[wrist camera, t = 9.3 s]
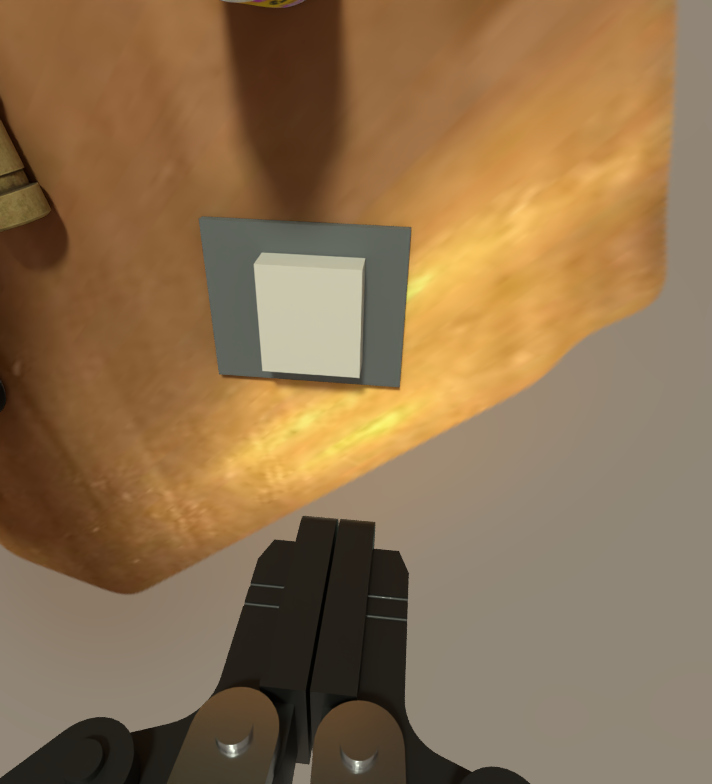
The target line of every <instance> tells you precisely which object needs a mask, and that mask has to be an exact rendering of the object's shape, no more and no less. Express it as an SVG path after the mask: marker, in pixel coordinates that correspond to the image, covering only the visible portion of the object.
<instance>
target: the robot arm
mask: <svg viewBox="0 0 712 784" xmlns="http://www.w3.org/2000/svg"><path fill="white" fill-rule="evenodd" d="M374 538H375V522H368V521H357V520H346V519H340V523H338V519H333V518H322V517H311V516H303V517H302V519H301V523H300V526H299V530H298V534H297V538H296V542H294V541H284V540H274V541H273V542H272V543H271V545H270V546H269V547H268V548H267V549H266V550H265V551H264V553H263V554H262V555H261V556H260V557H259V558H258V561H257V564H256V567H255V570H254V574H253V577H252V580H251V586H250V587H249V589H248V593H247V596H246V599H245V605H244V606H243V609H242V612H241V615H240V618H239V621H238V624H237V628H236V631H235V634H234V637H233V640H232V644H231V647H230V650H229V653H228V656H227V659H226V663H225V666H224V669H223V672H222V675H221V678H220V681H219V684H218V686H217V687H216V689H215V691H214V693H213V694H212V695H211V697H210V698H209V699H208V701H206V702H205V703H204V704H203V705H202V707H200V708H199V709H198V710H197V711H195V712H194V713H192V714H191V715H189V716H188V717H186V718H184V719H181V720H179V721H177V722H173V723H170V724H166V725H162V726H157V727H153V728H148V729H144V730H140V731H135V732H131V733H130V732H129V730H128V729H127V728H126V727H125V726H124V725H123V724H122V723H120V722H119V721H117V720H114V719H112V718H106V717H96V718H90V719H87V720H84V721H81V722H78V723H76V724H74V725H72V726H71V727H69V728H68V729H66V730H65V731H63V732H62V733H61V734H59V735H58V736H56V737H55V738H54V739H52V740H51V741H50V742H49V743H47V744H46V745H44V746H43V747H42V748H40V749H39V750H38V751H36V752H35V753H33V754H32V755H31V756H29V757H28V758H27V759H26V760H24V761H23V762H21V763H20V764H19V765H17V766H16V767H15V768H13V769H12V770H11V771H9V772H8V773H6V774H5V775H4V776H2V777H1V778H0V784H292V780H293V775H294V769H295V763H302V764H309V763H310V757H311V750H313V758H312V770H311V781H310V782H311V783H310V784H530V783H529V782H528V781H526V780H525V779H524V778H523V777H521V776H519V775H518V774H516V773H515V772H512V771H510V770H508V769H504V768H500V767H485V768H480V769H478V770H475V771H473V772H471V771H469V770H467V769H465V768H463V767H461V766H459V765H457V764H455V763H453V762H451V761H449V760H447V759H445V758H444V757H441V756H440V755H438V754H436V753H435V752H433V751H432V750H431V749H429V748H428V747H427V746H426V745H425V744H424V743H423V742H422V741H421V740H420V739H419V738H418V736H417V735H416V734H415V732H414V731H413V729H412V727H411V725H410V723H409V720H408V717H407V714H406V709H405V669H406V639H407V608H408V578H409V577H408V576H409V573H408V571H407V568H406V566H405V564H404V562H403V559H402V557H401V555H400V553H399V551H391V550H381V549H374V540H375V539H374Z"/></svg>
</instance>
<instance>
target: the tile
mask: <svg viewBox="0 0 712 784" xmlns="http://www.w3.org/2000/svg"><path fill="white" fill-rule="evenodd" d="M254 274H255V286H256V298H257V311H258V323H259V335H260V347H261V360H262V371H270V372H284V373H298V374H312V375H326V376H340V377H354V378H360V372H361V367H362V357H363V324H364V290H365V258H353V257H335V256H317V255H299V254H281V253H263V252H262V253H261V254H260V256H259V257H258V259H257V260H256V261H255V263H254Z"/></svg>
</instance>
